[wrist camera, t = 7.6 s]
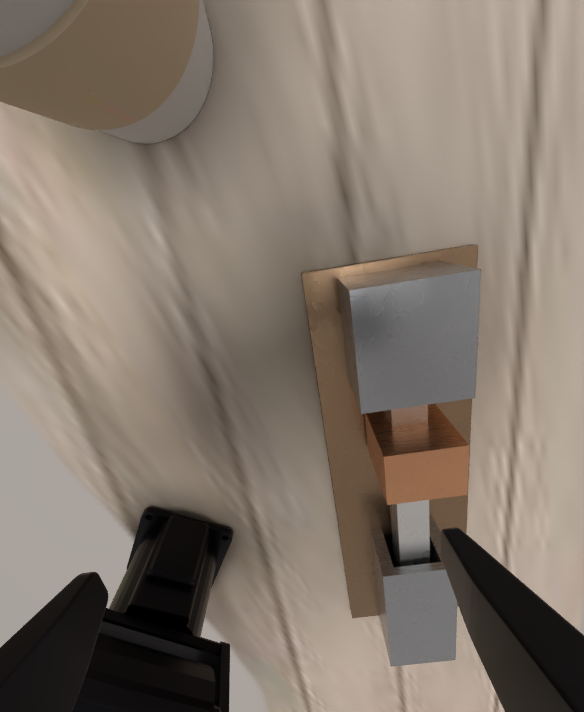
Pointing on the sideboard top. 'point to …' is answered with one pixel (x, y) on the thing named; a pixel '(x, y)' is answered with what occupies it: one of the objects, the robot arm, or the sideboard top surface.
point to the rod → (415, 471)
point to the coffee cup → (108, 63)
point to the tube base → (387, 392)
